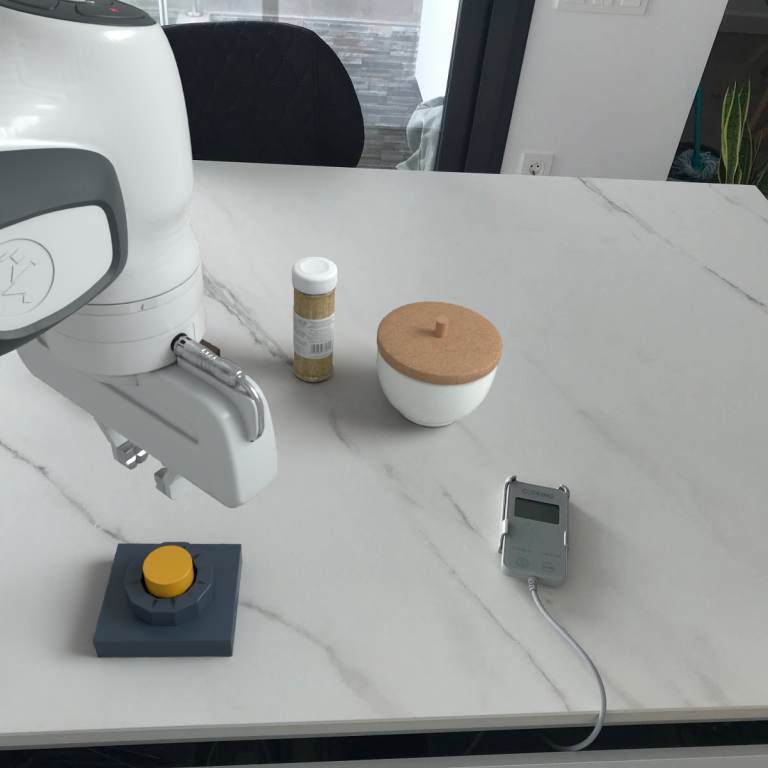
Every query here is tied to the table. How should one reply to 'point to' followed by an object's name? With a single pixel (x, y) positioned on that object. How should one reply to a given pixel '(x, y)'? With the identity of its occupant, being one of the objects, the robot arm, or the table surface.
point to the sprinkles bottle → (313, 317)
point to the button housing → (170, 605)
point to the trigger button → (168, 571)
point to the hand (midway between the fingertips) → (152, 474)
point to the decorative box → (436, 361)
